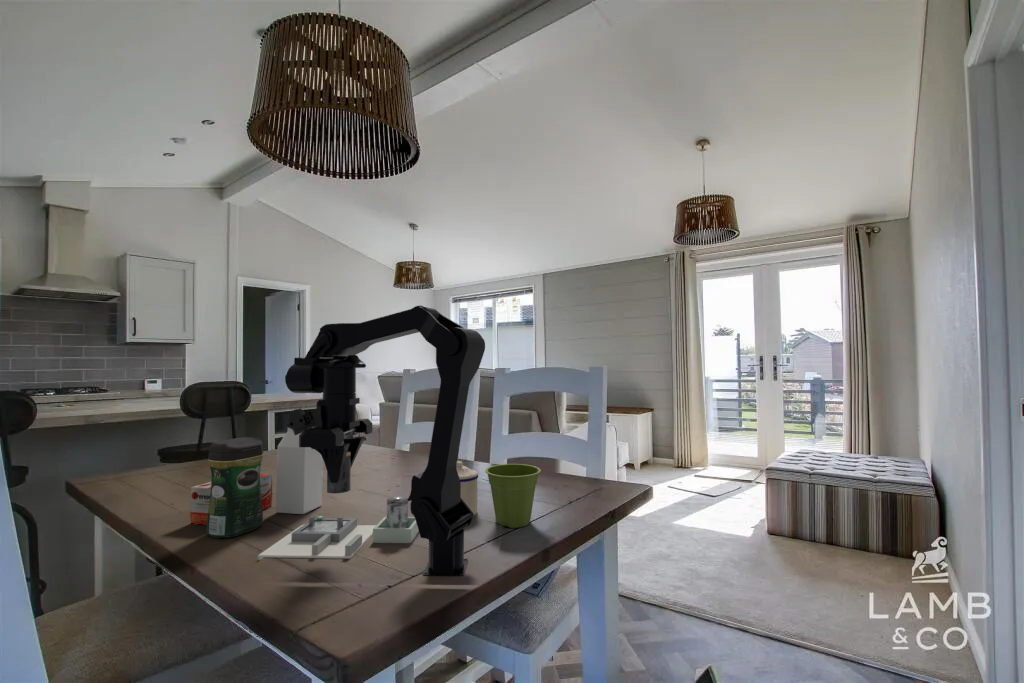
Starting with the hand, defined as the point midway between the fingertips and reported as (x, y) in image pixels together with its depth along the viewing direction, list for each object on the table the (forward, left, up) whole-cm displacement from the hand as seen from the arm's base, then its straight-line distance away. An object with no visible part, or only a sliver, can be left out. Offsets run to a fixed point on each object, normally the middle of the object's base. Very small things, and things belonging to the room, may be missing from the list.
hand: (339, 479), depth 87 cm
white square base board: (+4, +4, -13) cm, 14 cm away
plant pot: (+17, -31, -13) cm, 37 cm away
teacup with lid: (+23, -17, -13) cm, 31 cm away
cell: (0, 0, -2) cm, 2 cm away
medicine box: (+20, +32, -13) cm, 40 cm away
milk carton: (+25, +19, -13) cm, 34 cm away
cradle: (+7, +5, -11) cm, 14 cm away
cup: (+7, -9, -13) cm, 17 cm away
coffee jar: (+10, +25, -13) cm, 30 cm away
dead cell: (+7, -9, -12) cm, 16 cm away
